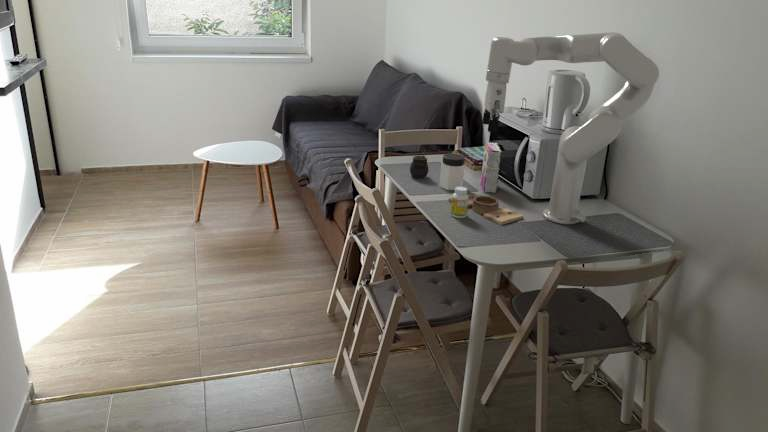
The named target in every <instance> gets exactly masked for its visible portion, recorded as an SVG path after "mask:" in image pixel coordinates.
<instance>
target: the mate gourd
mask: <svg viewBox="0 0 768 432" xmlns="http://www.w3.org/2000/svg"><path fill="white" fill-rule="evenodd" d="M425 154H426V150H425V149H424V150H423V153H422V155H414V156H412V162H411V163H410V165H409V172H410V175H411V177H413V178H414V179H425V178H426V177H427V176H428V174H429V165H428V157H427V156H425Z"/></svg>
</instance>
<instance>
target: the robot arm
mask: <svg viewBox="0 0 768 432" xmlns="http://www.w3.org/2000/svg"><path fill="white" fill-rule="evenodd" d="M536 61H537V62H539V61H560V62H563V63H567V64H580V63H582V64H583V63H599V62H602V63H603V62H605V63H606V64H607V65H608V66H609V67H610V68H611V69H612V70H614V71H615V72H616V73H618V75H620V76H621V77H622V78H623V79H625V83H624V85H623V86H622V88H621V89H619V90H618V91H617V92H616V93H615V94H614V95H613V96H611V97H610V98H609V99H608V100H606V101H605V102H604V103H602V104H601V105H599V106H598V107H597V108H594V109H593V110H592V111H591V112H590V114H589V115H588V119H587V122H585V123H583V124H582V125H581V126H580V125H579V126H578V125H574V126H570V127H568V128H566V129H564V131H563V132H562V134H561V135H560V138H559V142H558V148H557V149H558V150H557V157H556V162H555V163H556V164H555V169H554V174H553V179H552V180H553V181H552V186H551V194H550V197H549V198H550V200H549V204H548V208H544V210H543V212H542V215H543V217H544V218H545V219H546V220H548V221H550V222H554V223H556V224H562V225H576V224H578V223H580V222H581V223H584V222H585V221H586V218H587V214H584V213H581V211H582V210H581V209H582V208H580V207H579V205H580V204H579V203H580V200H581V194H582V189H583V183H584V178H585V173H586V168H587V162H588V160H589V159H590V158H591V157H593V156H594V155H596V154H597V153H598V152H600V151H601V150H602V149H604V148H605V147H607V146H608V145H609V144H611V143H612V142H614V140H615V139H616V138H617V137H618V136H619V134H620V132H621V130H622V124H623V123H625V122H626V121H627V120H629V119H630V118H631V117H632V116H633V115H634V114H636V113H637V112H639V110H641V109H642V108H643V107H644V106H645V104H647V102H648V100H649V99H650V98H651V95H652V93H653V90H654V87H655V84H656V83H657V81H658V79H659V77H660V76H659V75H660V70H659V67H658V65H657V64H656V63H655V62H654V61H653V59H651V58H650V57H648V56H646V55H645V54H644V53H643V52H641V51H640V50H639V49H638V48H636V46H635V45H633V44H632V42H630V41H629V40H628V39H627V38H626V37H625V36H624V35H623V34H621V33H619V32H602V33H600V32H599V33H588V34H586V33H585V34H570V35H569V34H568V35H555V36H540V37H539V36H536V37H526V38H523V39H521V40H514V39H513V38H511V37H503V36H496V37H493V38H492V40H491V44H490V50H489V55H488V63H487V69H486V75H485V81H486V82H487V85H486V91H485V97H484V112H483V117H482V124H483V125H488V126H487V132H488V133H498V132H499V131H498V130H499V123H500V117H501V116H500V115H502V114H503V113H504V111H505V106H506V105H505V103H506V95H507V84H509V83H510V78H511V72H512V67H513V66H512V65H513V64H517V65H520V66H531V65H532V64H534V63H535V62H536Z"/></svg>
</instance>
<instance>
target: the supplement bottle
mask: <svg viewBox="0 0 768 432" xmlns="http://www.w3.org/2000/svg"><path fill="white" fill-rule="evenodd" d="M467 194H468V188H467V187H465V186H462V187H456V188H455V190H454V193H453V194H452V195H451V198H452V203H451V206H450V215H451V217H453V218H456V219H464V218H466V217H467V213H468V208H467V205H468V195H467Z"/></svg>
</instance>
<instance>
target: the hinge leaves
mask: <svg viewBox="0 0 768 432" xmlns="http://www.w3.org/2000/svg"><path fill="white" fill-rule="evenodd" d="M467 195H468V205H467V209H469V208H471V207H472V209H471V210H472V211H473V212H476V213H477V214H479V215H480V214H481V215H483V216H482V217H483V218H485V219H488V220H490V221H492V222H493V223H496V224H499V225H501V226H502V225H506V224H508V223H513V222H515V221H518V220H523V219H524V215H523V214H521V213H519V212H516V211H513V210H511V209H508V208H506V207H504V208H501V209H499V205H500V202H499V201H500V200H499V199H498V198H496V197H493V196H491V195H490V196H489V195H476V194H474V193H471V192H469V193H467ZM448 202H449V203H451V204H452V197H449V198H448Z"/></svg>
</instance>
